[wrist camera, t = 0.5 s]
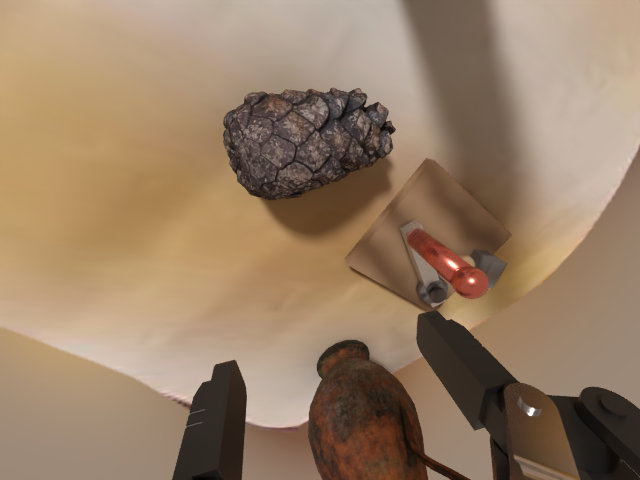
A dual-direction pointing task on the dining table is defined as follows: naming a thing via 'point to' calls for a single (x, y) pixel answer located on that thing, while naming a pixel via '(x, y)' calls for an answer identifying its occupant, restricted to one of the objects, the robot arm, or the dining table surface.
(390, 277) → the base
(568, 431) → the robot arm
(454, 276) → the lever
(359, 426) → the pitcher
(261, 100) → the pine cone
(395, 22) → the dining table surface
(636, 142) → the dining table surface
